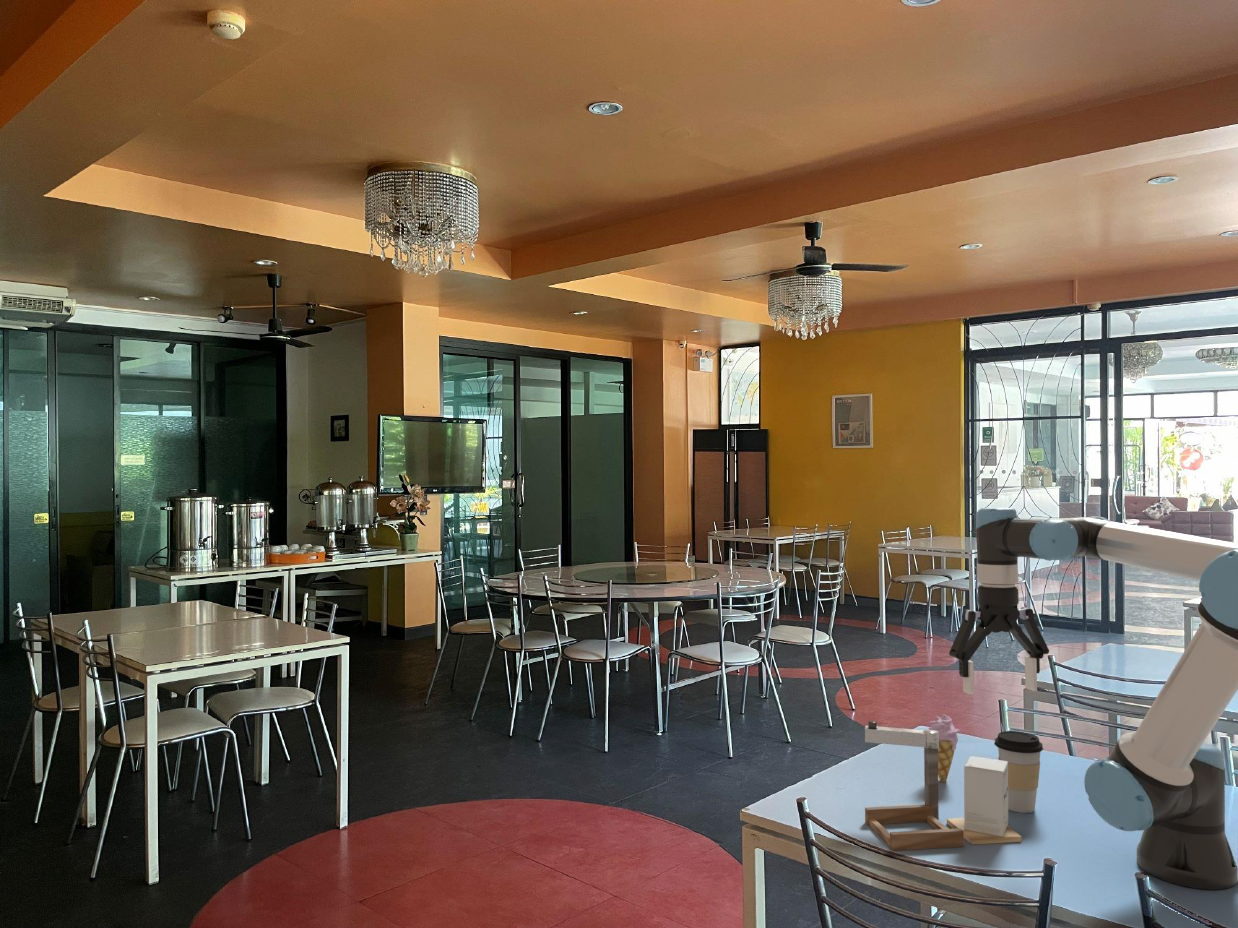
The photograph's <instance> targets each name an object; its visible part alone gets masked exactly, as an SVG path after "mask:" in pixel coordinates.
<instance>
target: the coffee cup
mask: <svg viewBox="0 0 1238 928" xmlns="http://www.w3.org/2000/svg"><path fill="white" fill-rule="evenodd" d="M993 745H995V747H997V751H998V757H997V758H998V759H997V760H1002V761H1008V811H1011V812H1015V813H1020V814H1030V813H1034V812H1035V810H1036V803H1037V801H1036V799H1037V791H1038V790H1037V789H1038V788H1039V780H1040V767H1041V752H1042V751H1044V747H1043V743H1042V742H1040V739H1039V737H1038V736H1037V735H1035V734H1032V733H1028V732H1025V731H1015V730H1006V731H1001V732H999V733H998V734H997V737H996V738H994V742H993Z"/></svg>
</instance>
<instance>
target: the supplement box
mask: <svg viewBox="0 0 1238 928" xmlns="http://www.w3.org/2000/svg"><path fill="white" fill-rule="evenodd" d="M963 767H964V768H963V780H964V781H963V782H964V783H963V786H964V787H963V791H964V793H963V794H964V796H963V797H964V800H963V803H964V807H963V808H964V810H963V811H964V816H963V818H964V829H965V830H970V831H975V832H979V833H985V834H990V835H995V836H1000V837H1003V836H1004V833H1005V830H1006V827H1007V826H1008V825H1009V810H1008V761H1002V760H999V759H994V758H987V757H981V756H973V755H971V756H969V757H968V760H967V761H966V762H965V764H964V766H963Z"/></svg>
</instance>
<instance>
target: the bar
mask: <svg viewBox="0 0 1238 928" xmlns="http://www.w3.org/2000/svg"><path fill="white" fill-rule="evenodd" d="M864 742H865V743H870V744H880V745H881V744H882V745H891V746H892V745H894V746H906V747H915V748H916V747H917V748H924V747H925V748H929V749H937V748H939V732H938V731H935V730H929V729H915V728H914V729H913V728H902V727H901V728H899V727H888V726H879V725H878V721H875V720H868V722H867V725H865V727H864Z"/></svg>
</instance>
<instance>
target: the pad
mask: <svg viewBox="0 0 1238 928" xmlns="http://www.w3.org/2000/svg"><path fill="white" fill-rule="evenodd" d="M946 825H948V826H949V827H950V829H956V828H961V829H962V830H963V831H964V840H966V841H967V842H968V843H969V844H970V845H989V844H1003V843H1004V844H1005V843H1008V844H1009V843H1021V842H1022V835H1020V834H1019V833H1018V832H1016V831H1015V830H1013V829H1012V828H1011V827H1009V826H1008V825H1007V827H1006V830H1005V833H1004V836H1003V837H1000V836H995V835H990V834H985V833H979V832H975V831H970V830H965V829H964V817H955V818H954V817H953V818H952V817H951V818H946Z"/></svg>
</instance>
